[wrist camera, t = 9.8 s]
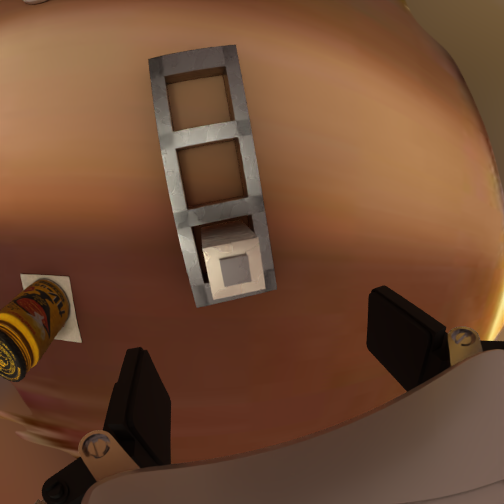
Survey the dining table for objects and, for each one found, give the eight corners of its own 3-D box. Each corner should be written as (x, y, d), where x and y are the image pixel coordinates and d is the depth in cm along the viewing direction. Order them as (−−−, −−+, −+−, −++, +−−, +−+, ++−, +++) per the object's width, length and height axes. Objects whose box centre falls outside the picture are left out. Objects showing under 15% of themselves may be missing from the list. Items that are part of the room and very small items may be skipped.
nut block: (200, 227, 27) (202, 250, 19) (240, 219, 27) (259, 238, 20) (208, 265, 28) (213, 302, 20) (246, 257, 29) (266, 290, 21)
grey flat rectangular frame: (152, 68, 21) (148, 59, 19) (232, 54, 23) (235, 44, 20) (196, 296, 29) (196, 307, 26) (270, 280, 30) (276, 289, 27)
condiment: (69, 275, 25) (14, 331, 14) (82, 341, 28) (47, 410, 16) (21, 273, 24) (-38, 319, 13) (36, 335, 26) (-6, 394, 15)
